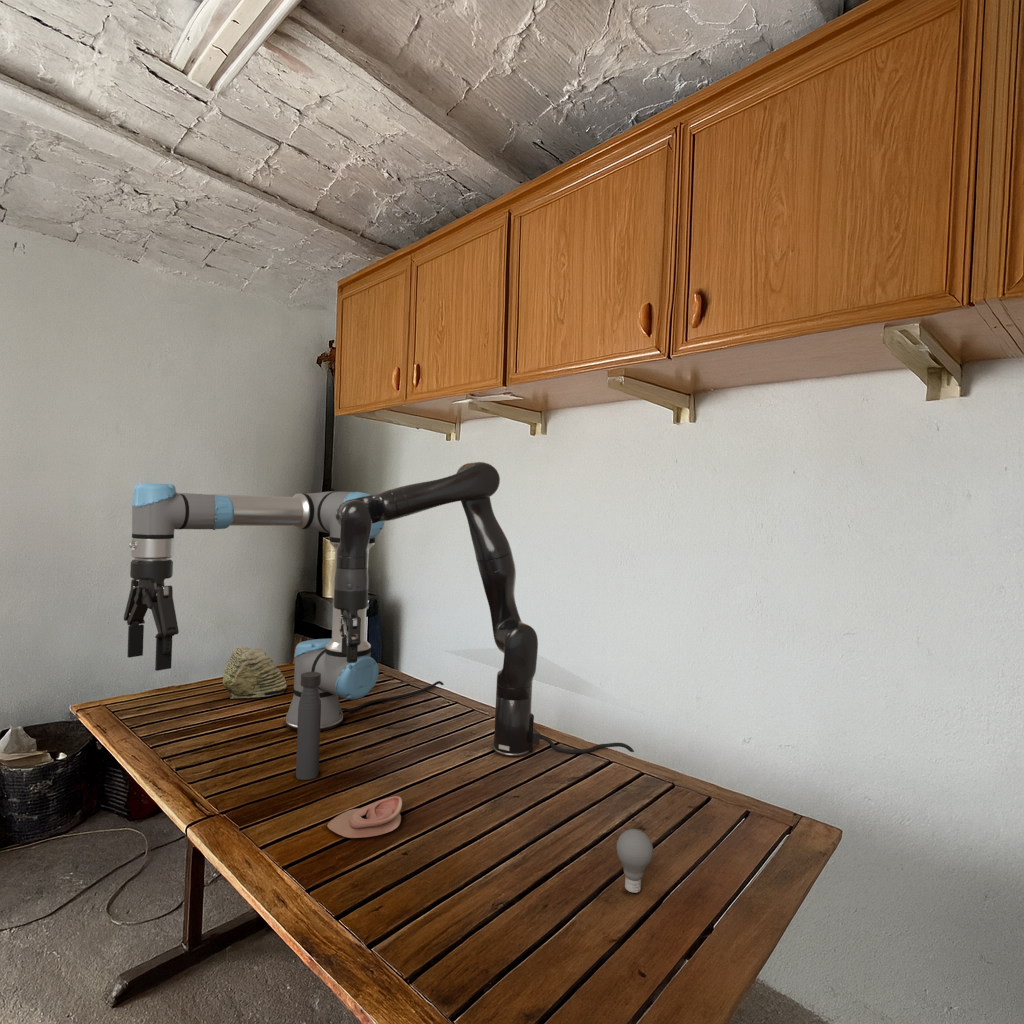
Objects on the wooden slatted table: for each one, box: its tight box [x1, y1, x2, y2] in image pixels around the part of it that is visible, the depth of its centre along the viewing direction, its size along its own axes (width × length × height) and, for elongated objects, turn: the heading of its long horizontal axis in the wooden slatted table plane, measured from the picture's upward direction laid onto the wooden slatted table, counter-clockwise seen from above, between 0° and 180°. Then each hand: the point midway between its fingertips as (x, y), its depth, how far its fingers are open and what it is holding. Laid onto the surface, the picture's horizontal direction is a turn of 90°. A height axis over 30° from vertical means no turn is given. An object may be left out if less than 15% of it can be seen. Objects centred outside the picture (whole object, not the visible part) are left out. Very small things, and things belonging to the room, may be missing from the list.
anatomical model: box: [327, 795, 403, 839], centre depth 123 cm, size 13×4×12 cm
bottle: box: [295, 686, 321, 781], centre depth 143 cm, size 5×5×23 cm
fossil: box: [222, 646, 288, 699], centre depth 198 cm, size 9×18×15 cm, turn 132°
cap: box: [301, 672, 321, 687], centre depth 143 cm, size 4×4×2 cm
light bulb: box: [615, 828, 654, 894], centre depth 106 cm, size 6×6×10 cm
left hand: (148, 662), depth 129 cm, fingers open, 13 cm apart
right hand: (349, 657), depth 145 cm, fingers open, 8 cm apart
